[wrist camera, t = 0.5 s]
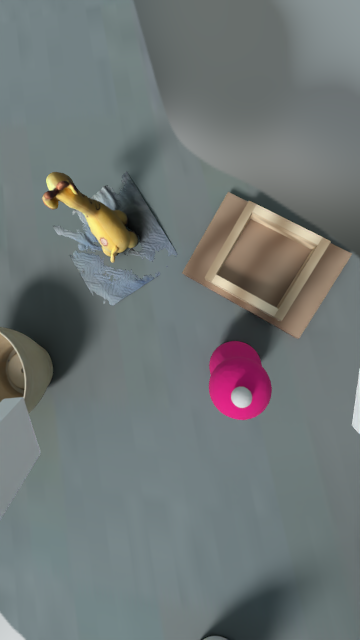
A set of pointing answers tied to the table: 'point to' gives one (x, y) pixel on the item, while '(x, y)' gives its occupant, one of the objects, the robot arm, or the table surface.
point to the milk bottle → (215, 638)
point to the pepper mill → (238, 381)
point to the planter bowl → (23, 353)
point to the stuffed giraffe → (108, 232)
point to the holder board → (266, 264)
